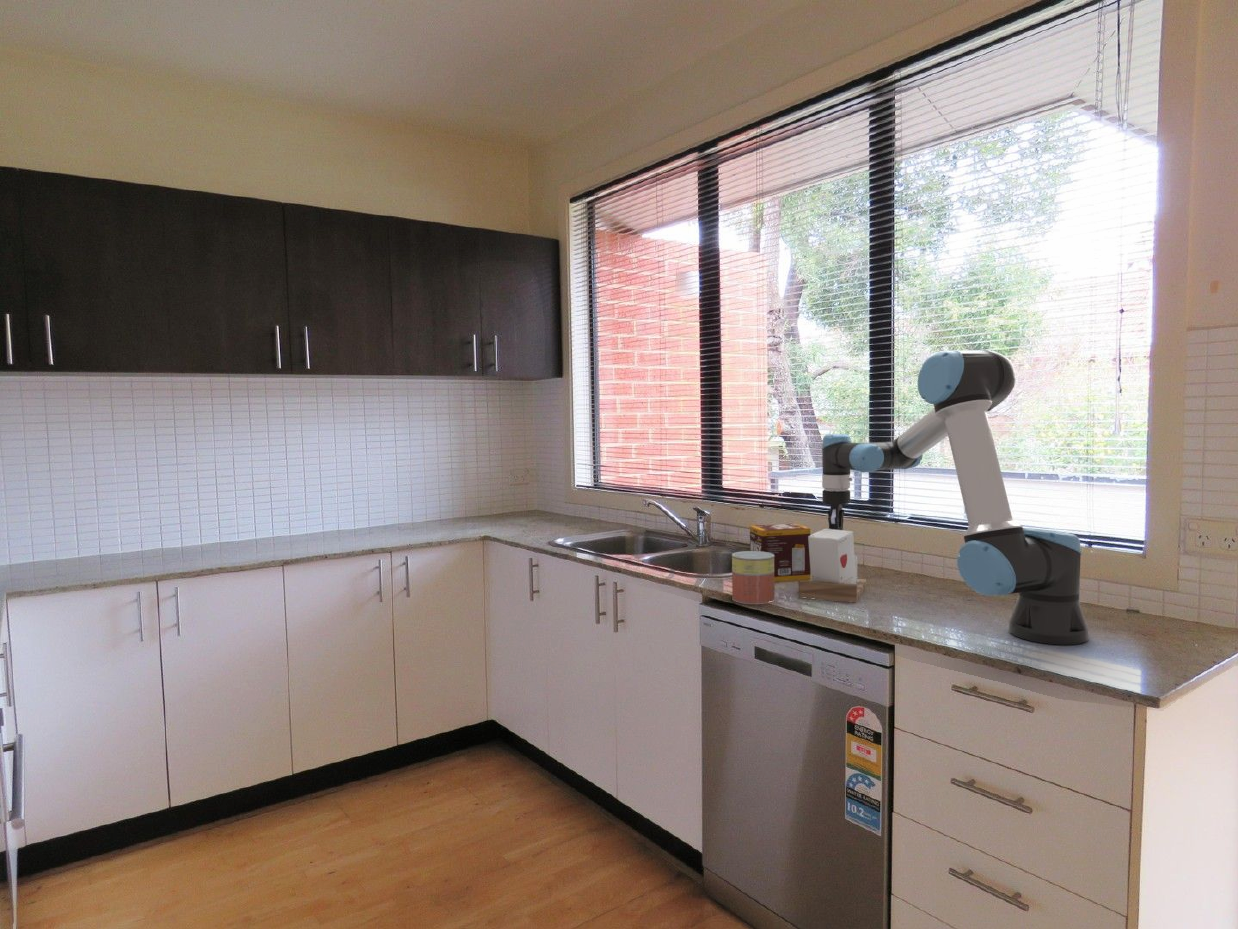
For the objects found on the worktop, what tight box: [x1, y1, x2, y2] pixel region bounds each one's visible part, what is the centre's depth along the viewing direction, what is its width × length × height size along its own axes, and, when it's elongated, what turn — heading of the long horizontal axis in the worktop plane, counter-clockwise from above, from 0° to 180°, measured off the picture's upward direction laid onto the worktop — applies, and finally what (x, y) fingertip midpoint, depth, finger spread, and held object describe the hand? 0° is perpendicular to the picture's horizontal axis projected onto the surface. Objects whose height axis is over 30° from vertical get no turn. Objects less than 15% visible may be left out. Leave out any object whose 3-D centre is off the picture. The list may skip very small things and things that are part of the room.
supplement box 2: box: [808, 528, 856, 584], centre depth 205 cm, size 9×9×15 cm
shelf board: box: [797, 578, 867, 603], centre depth 210 cm, size 22×15×4 cm
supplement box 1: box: [749, 522, 811, 583], centre depth 228 cm, size 10×15×16 cm
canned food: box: [731, 550, 775, 605], centre depth 203 cm, size 11×11×12 cm
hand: (836, 572), depth 215 cm, fingers closed
